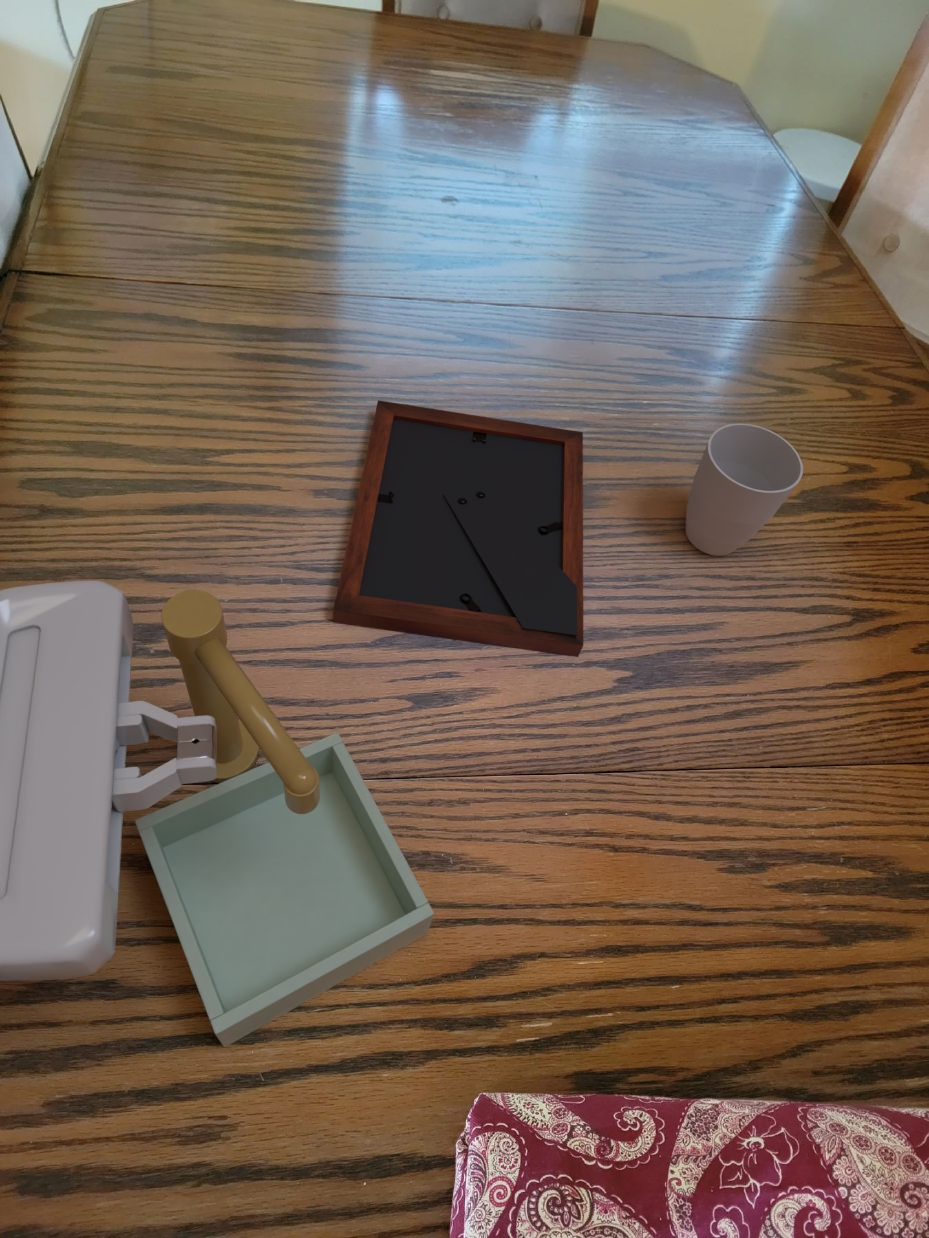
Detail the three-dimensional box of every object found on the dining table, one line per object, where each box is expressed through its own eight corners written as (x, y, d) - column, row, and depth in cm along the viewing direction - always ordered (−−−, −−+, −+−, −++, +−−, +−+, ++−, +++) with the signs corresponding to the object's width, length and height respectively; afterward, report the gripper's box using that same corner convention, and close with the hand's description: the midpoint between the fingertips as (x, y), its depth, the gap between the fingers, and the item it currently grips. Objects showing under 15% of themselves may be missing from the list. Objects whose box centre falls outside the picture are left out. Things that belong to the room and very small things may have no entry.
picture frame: (578, 656, 68) (578, 445, 82) (584, 643, 66) (583, 430, 81) (333, 622, 67) (377, 414, 81) (333, 607, 65) (378, 397, 80)
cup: (766, 567, 76) (818, 491, 68) (684, 571, 75) (727, 494, 66) (736, 501, 81) (781, 422, 73) (658, 503, 79) (695, 423, 71)
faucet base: (238, 793, 58) (215, 692, 46) (176, 767, 58) (138, 661, 47) (271, 736, 60) (257, 627, 49) (211, 712, 61) (183, 599, 49)
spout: (162, 645, 48) (150, 605, 45) (212, 621, 50) (204, 580, 47) (285, 828, 43) (281, 797, 40) (337, 795, 45) (337, 763, 41)
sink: (427, 933, 54) (434, 913, 50) (224, 1047, 49) (215, 1034, 45) (337, 761, 60) (337, 731, 56) (147, 846, 55) (134, 819, 51)
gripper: (-168, 992, 32) (209, 938, 35) (-71, 570, 43) (208, 556, 46) (-99, 1021, 37) (225, 973, 40) (-28, 638, 48) (220, 622, 51)
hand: (216, 747), depth 43 cm, fingers closed
